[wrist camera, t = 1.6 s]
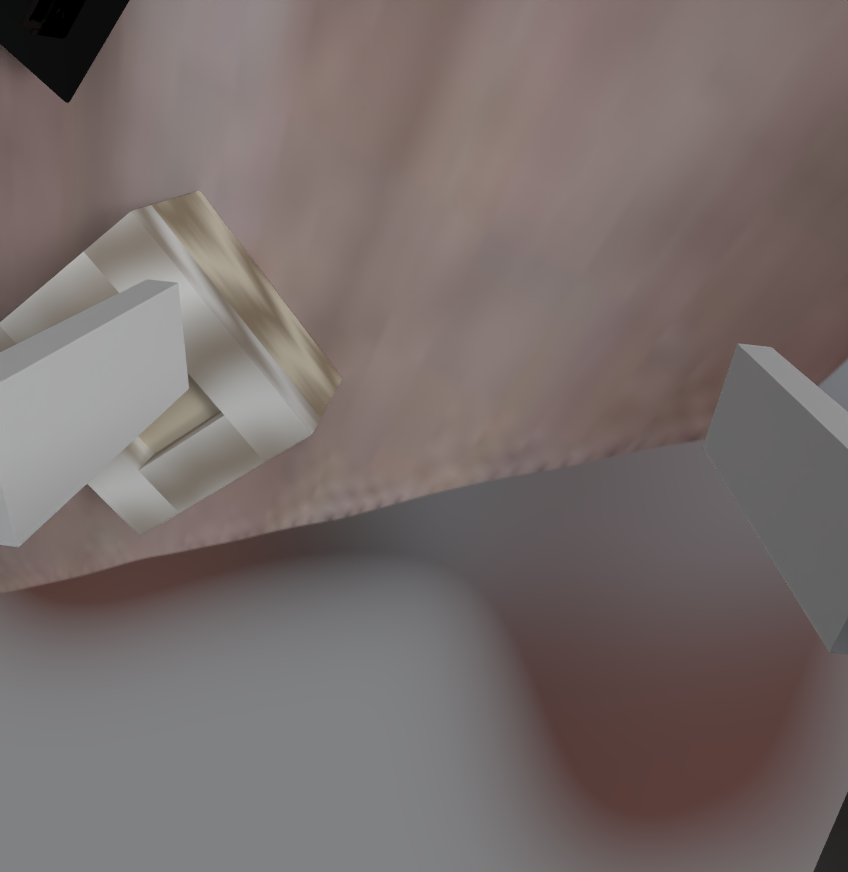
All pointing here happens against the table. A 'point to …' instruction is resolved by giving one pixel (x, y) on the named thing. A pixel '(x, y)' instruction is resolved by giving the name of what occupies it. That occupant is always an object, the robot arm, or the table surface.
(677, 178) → the table surface
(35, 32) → the black box
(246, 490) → the table surface
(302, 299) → the table surface
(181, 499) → the display stand
